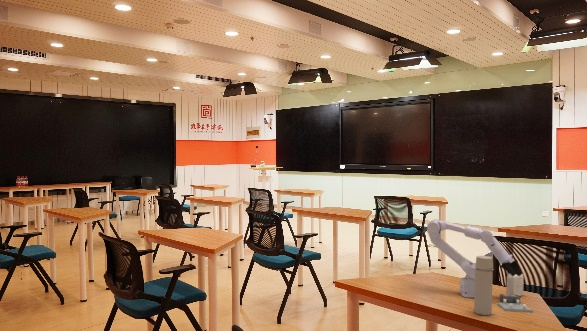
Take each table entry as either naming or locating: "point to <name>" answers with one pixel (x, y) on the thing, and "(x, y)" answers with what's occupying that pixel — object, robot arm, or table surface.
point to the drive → (509, 298)
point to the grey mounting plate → (514, 306)
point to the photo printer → (514, 284)
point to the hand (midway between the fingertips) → (517, 275)
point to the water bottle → (483, 285)
